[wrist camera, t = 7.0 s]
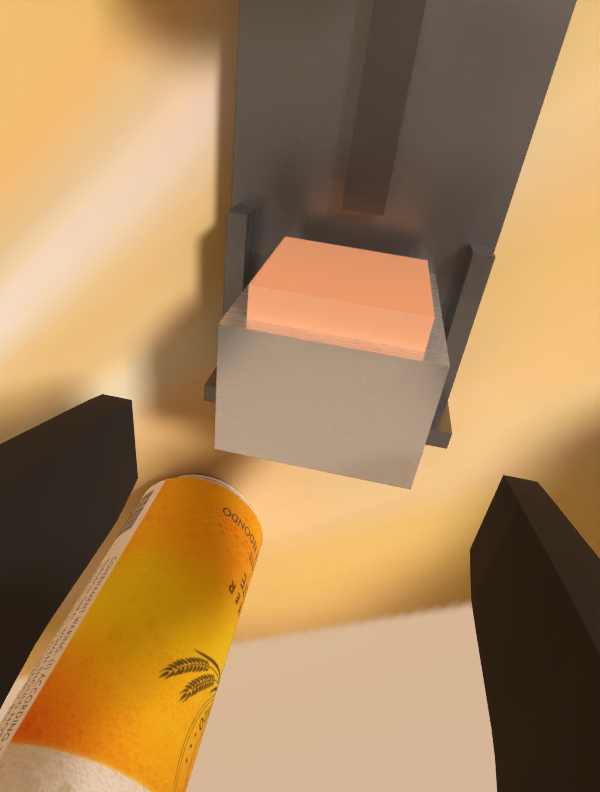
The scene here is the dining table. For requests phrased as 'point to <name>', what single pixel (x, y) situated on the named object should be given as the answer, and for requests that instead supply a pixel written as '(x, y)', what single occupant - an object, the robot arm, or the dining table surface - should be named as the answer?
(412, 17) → the rail
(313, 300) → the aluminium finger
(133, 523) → the beer can
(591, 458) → the dining table surface
